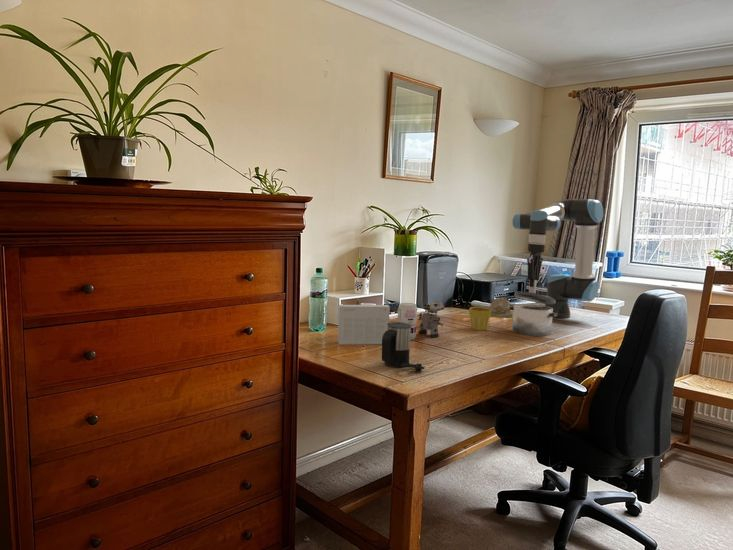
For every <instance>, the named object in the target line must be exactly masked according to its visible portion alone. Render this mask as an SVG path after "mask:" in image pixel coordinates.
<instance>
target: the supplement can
mask: <svg viewBox="0 0 733 550" xmlns="http://www.w3.org/2000/svg"><path fill="white" fill-rule="evenodd" d="M397 309H398V310H397V311H398V312H397V322H401V323H408V324H411V325H412V327H411V334H410V341H412V340H414V339H416V336H417V321H418V307H417V304H416V303H412V302H411V303H410V302H401V303H399V305H398V308H397Z"/></svg>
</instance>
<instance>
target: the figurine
mask: <svg viewBox="0 0 733 550" xmlns="http://www.w3.org/2000/svg"><path fill="white" fill-rule="evenodd" d="M422 308H423V310H425V311H427V312H426V313H425V312H423V311H421V312H420V313H419V316H418V321H421V322H420V325H419V327H418V328H419V329H418V332H417V333H418V334H419V335H423V334H427V333H428V331H430V334H429V337H430V338H438V337H440V336H439V335H440V334H439V329H438V328H439V326H441V327H444V323H445V322H444V321H443V323H442V322H440V321H441V317H440V316H438V315H437V314H438V312H439V311H441V310H444V309H445V306H444V304H443V303H442V301H438V300H434V301H432V302H428V303H425V304H424V305H423V306H422Z"/></svg>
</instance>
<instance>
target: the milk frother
mask: <svg viewBox="0 0 733 550" xmlns="http://www.w3.org/2000/svg"><path fill="white" fill-rule="evenodd" d="M387 325H388V328H387V331H386V332H385V333H384V334H383V337H382V344H381V361H382V362H384V365H386V366H389V367H392V368H393V367H394V368H413V369H414V370H416V371H417V372H421V371H422V370H424V369H425V366H423V365H422V363H415V364H413V363H410V347H411V340H410V334H411V327H412V325H411V324H408V323H401V322H398V321H396V322H395V321H394V322H393V321H391V322H389V323H387Z"/></svg>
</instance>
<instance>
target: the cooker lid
mask: <svg viewBox="0 0 733 550" xmlns="http://www.w3.org/2000/svg"><path fill="white" fill-rule="evenodd" d="M514 297H516V298H518V299H521V300H525V301H529V302H532V303H535V304H536V303H538V304H543V305H545V304H555V302H556V300H555V299H553V298H551V297H547V295H543V294H540V291H538V290H536V294H535V293H529V291H522V290H521V291H514Z"/></svg>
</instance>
